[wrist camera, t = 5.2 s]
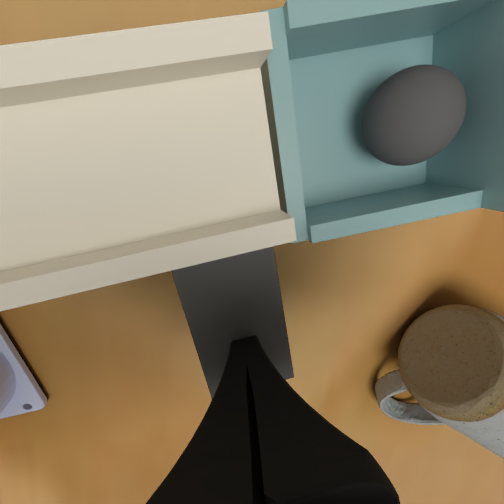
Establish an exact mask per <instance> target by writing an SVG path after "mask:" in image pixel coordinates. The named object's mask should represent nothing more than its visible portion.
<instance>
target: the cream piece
mask: <svg viewBox="0 0 504 504" xmlns="http://www.w3.org/2000/svg"><path fill="white" fill-rule="evenodd" d="M272 49H273V46H272V38H271V30H270V22H269V14H268V11H266V12H258V13H250V14H242V15H235V16H227V17H219V18H211V19H203V20H196V21H188V22H180V23H172V24H164V25H157V26H149V27H141V28H133V29H125V30H118V31H110V32H102V33H94V34H86V35H79V36H71V37H63V38H55V39H47V40H40V41H32V42H24V43H16V44H8V45H1V46H0V311H4V310H8V309H12V308H17V307H21V306H25V305H29V304H33V303H38V302H42V301H46V300H50V299H54V298H59V297H63V296H67V295H71V294H75V293H80V292H84V291H88V290H92V289H96V288H101V287H105V286H109V285H113V284H117V283H121V282H126V281H130V280H134V279H138V278H142V277H147V276H151V275H155V274H159V273H163V272H168V271H172V274H173V278H174V281H175V284H176V287H177V290H178V293H179V297H180V300H181V303H182V306H183V309H184V312H185V315H186V319H187V322H188V325H189V328H190V331H191V334H192V337H193V341H194V344H195V347H196V350H197V353H198V356H199V359H200V363H201V366H202V369H203V372H204V375H205V378H206V381H207V385H208V388H209V391H210V394H211V397H212V399H213V397H214V394H215V392H216V390H217V387H218V385H219V382H220V379H221V377H222V374H223V371H224V368H225V365H226V361H227V358H228V354H229V349H230V343H231V342H232V341H234V340H238V339H242V338H245V337H250V336H254V335H255V336H257V337H258V339H259V342H260V344H261V346H262V348H263V350H264V351H265V353H266V355H267V356H268V358H269V359H270V361H271V362H272V364H273V365H274V366H275V368H276V369H277V370H278V372H279V373H280V374H281V376H282V377H283V378H284V379H285V380H286V379H289V378H293V377H294V373H293V367H292V361H291V355H290V348H289V342H288V336H287V330H286V323H285V317H284V311H283V305H282V298H281V292H280V286H279V280H278V273H277V267H276V261H275V255H274V248H273V246H277V245H281V244H285V243H289V242H293V241H297V238H296V230H295V222H294V217H292V216H290V215H289V214H287V213H285V212H283V211H282V210H280V203H279V196H278V189H277V182H276V174H275V167H274V160H273V153H272V146H271V139H270V132H269V125H268V118H267V111H266V104H265V97H264V90H263V83H262V76H261V69H260V67H261V66H262V64H263V63H264V61H265V60H266V58H267V57H268V55H269V54H270V52H271V51H272Z"/></svg>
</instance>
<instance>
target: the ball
mask: <svg viewBox="0 0 504 504" xmlns="http://www.w3.org/2000/svg"><path fill="white" fill-rule="evenodd" d="M466 107H467V99H466V93H465V90H464V87H463V85H462V83H461V81H460V80H459V79H458V78H457V77H456V75H454V74H453V73H452V72H451V71H449V70H447V69H445V68H443V67H440V66H437V65H428V64H425V65H416V66H411V67H408V68H405V69H403V70H401V71H399V72H397V73H395V74H393V75H392V76H390V77H389V78H387V79H386V80H385V81H384V82H383V83H382V84H381V85H380V86H379V87H378V88H377V89H376V90H375V91H374V93H373V94H372V95H371V97H370V99H369V100H368V102H367V104H366V106H365V109H364V112H363V116H362V121H361V133H362V138H363V141H364V144H365V146H366V147H367V149H368V151H369V152H370V153H371V154H372V155H373V156H374V157H375V158H377V159H378V160H380V161H382V162H384V163H387V164H390V165H395V166H407V165H414V164H417V163H421V162H423V161H426V160H428V159H430V158H432V157H433V156H435V155H437V154H438V153H439V152H441V151H442V150H443V149H444V148H445V147H447V146H448V144H449V143H450V142H451V141H452V140H453V139H454V137H455V136H456V135H457V133H458V131H459V129H460V128H461V126H462V123H463V121H464V118H465V114H466Z"/></svg>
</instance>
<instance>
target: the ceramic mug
mask: <svg viewBox="0 0 504 504" xmlns="http://www.w3.org/2000/svg"><path fill="white" fill-rule="evenodd" d="M398 367H399V369H398V370H394V371H392V372H389V373H387V374H385V375H384V376H383V377H381V378H380V379H378V381H377V382H376V384H375V392H376V396H377V401H378V405H379V408H380V409H381V410H382V411H383V413H385V414H386V415H387V416H389V417H391V418H393V419H396V420H399V421H402V422H407V423H412V424H422V425H444V424H446V425H447V426H449V427H451V428H453V429H455V430H457V431H459V432H461V433H463V434H464V435H466V436H467V437H469V438H471V439H472V440H474V441H475V442H477V443H478V444H480V445H481V446H483V447H485V448H486V449H488V450H490V451H491V452H493V453H495V454H496V455H498V456H500V457H502V458H504V317H502V316H499V315H497V314H495V313H492V312H490V311H488V310H485V309H482V308H478V307H474V306H470V305H461V304H456V305H444V306H440V307H437V308H434V309H432V310H429V311H427V312H425V313H423V314H422V315H420V316H419V317H418V318H417V319H415V320H414V321H413V322H412V324H411V325H410V326H409V327H408V328H407V330H406V331H405V333H404V335H403V337H402V339H401V342H400V345H399V349H398ZM407 390H408V391H409V392H410V394H411V395H412V396H413V397H414V398H415V400H416V401H417V402H418V403H410V402H401V401H397V400H395V399H393V398H392V397H391V396H393V395H395V394H398V393H401V392H404V391H407Z"/></svg>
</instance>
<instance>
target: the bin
mask: <svg viewBox="0 0 504 504" xmlns="http://www.w3.org/2000/svg"><path fill="white" fill-rule="evenodd" d="M266 11H268V14H269V22H270V30H271V38H272V46H273V49H272V51H271V52H270V54H269V55H268V57H267V58H266V60H265V61H264V63H263V64H262V66H261V67H260V69H261V76H262V83H263V90H264V97H265V104H266V111H267V118H268V125H269V132H270V139H271V146H272V153H273V160H274V167H275V174H276V182H277V189H278V196H279V203H280V210H282V211H283V212H285V213H287V214H289V215H290V216H292V217H294V222H295V230H296V238H297V241H293V242H291V244H293V243H297V242H302V241H307V240H309V241H310V242H311V243H317V242H321V241H326V240H331V239H335V238H340V237H345V236H349V235H354V234H359V233H363V232H368V231H373V230H378V229H382V228H387V227H392V226H396V225H401V224H406V223H410V222H415V221H420V220H424V219H429V218H434V217H439V216H443V215H448V214H453V213H457V212H462V211H467V210H471V209H476V208H486V209H491V210H496V211H502V212H504V0H286V2H285V4H284V7H281V8H275V9H269V10H263V11H260V12H266ZM425 64H428V65H437V66H440V67H443V68H445V69H447V70H449V71H451V72H452V73H453V74H454V75H456V77H457V78H458V79H459V80H460V81H461V83H462V85H463V87H464V90H465V93H466V99H467V107H466V114H465V118H464V121H463V123H462V126H461V128H460V129H459V131H458V133H457V135H456V136H455V137H454V139H453V140H452V141H451V142H450V143H449V144H448V146H447V147H445V148H444V149H443V150H442V151H441V152H439V153H438V154H437V155H435V156H433V157H432V158H430V159H428V160H426V161H423V162H421V163H417V164H414V165H407V166H395V165H390V164H387V163H384V162H382V161H380V160H378V159H377V158H375V157H374V156H373V155H372V154H371V153H370V152H369V151H368V149H367V147H366V146H365V144H364V141H363V138H362V133H361V121H362V116H363V112H364V109H365V106H366V104H367V102H368V100H369V99H370V97H371V95H372V94H373V93H374V91H375V90H376V89H377V88H378V87H379V86H380V85H381V84H382V83H383V82H384V81H385V80H386V79H387V78H389V77H390V76H392V75H393V74H395V73H397V72H399V71H401V70H403V69H405V68H408V67H411V66H416V65H425Z"/></svg>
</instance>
